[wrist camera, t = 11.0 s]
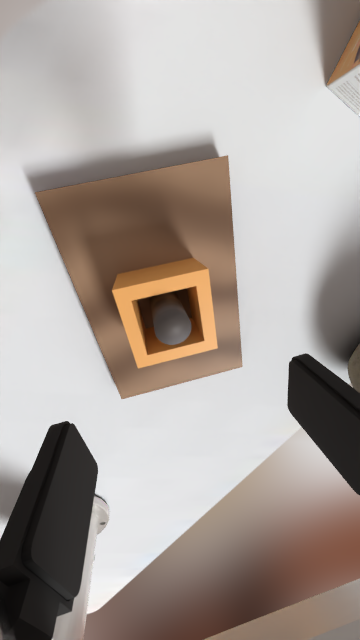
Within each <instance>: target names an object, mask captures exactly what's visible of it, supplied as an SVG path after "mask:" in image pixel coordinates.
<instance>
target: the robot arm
mask: <svg viewBox="0 0 360 640" xmlns="http://www.w3.org/2000/svg"><path fill="white" fill-rule="evenodd" d="M288 409H289V411H290V413H291V414H292V415H293V417H294V418H295V419H296V420H297V421H298V423H299V424H300V425H301V426H302V428H303V429H304V430H305V431H306V432H307V434H308V435H309V436H310V437H311V439H312V440H313V441H314V442H315V443H316V445H317V446H318V447H319V448H320V450H321V451H322V452H323V453H324V455H325V456H326V457H327V458H328V459H329V461H330V462H331V463H332V464H333V466H334V467H335V468H336V469H337V470H338V472H339V473H340V474H341V475H342V477H343V478H344V479H345V480H346V481H347V483H348V484H349V485H350V486H351V488H353V490H354V491H355V492H356V493H357V494H359V495H360V393H359V392H358V391H356V390H355V389H354V388H352V387H351V386H350V385H348V384H347V383H346V382H344V381H343V380H342V379H341V378H339V377H338V376H337V375H335V374H334V373H333V372H331V371H330V370H329V369H327V368H326V367H325V366H323V365H322V364H321V363H319V362H318V361H317V360H315V359H314V358H313V357H312V356H310V355H309V354H302V355H299V356H295V357H293V358H292V361H290V362H289V379H288ZM97 474H98V467H97V463H96V461H95V459H94V458H93V456H92V454H91V453H90V451H89V449H88V447H87V446H86V444H85V442H84V440H83V439H82V437H81V435H80V434H79V432H78V430H77V428H76V427H75V425H74V424H73V423H72V424H70V423H69V422H68V421H65V422H62V423H58V424H55V425H52V426H50V428H49V430H48V432H47V434H46V437H45V439H44V442H43V444H42V446H41V449H40V451H39V453H38V456H37V458H36V461H35V463H34V465H33V468H32V470H31V471H30V473H29V475H28V476H27V478H26V481H25V483H24V486H23V488H22V490H21V493H20V495H19V497H18V500H17V502H16V504H15V507H14V509H13V511H12V514H11V516H10V518H9V521H8V523H7V526H6V528H5V530H4V533H3V535H2V537H1V540H0V640H83V637H84V629H85V622H86V614H87V606H88V598H89V590H90V583H91V575H92V567H93V561H94V559H95V554H94V551H95V544H96V536H97V534H99V533H100V532H101V531H102V530H103V529H104V528H105V527H106V525H107V524H108V521H109V512H110V511H109V507H108V505H107V504H106V503H105V502H104V501H103V500H102V499H100V498H98V497H96V496H94V494H95V488H96V481H97ZM204 640H360V579H358V580H355V581H353V582H350V583H347V584H345V585H342V586H340V587H337V588H335V589H332V590H329V591H327V592H324V593H321V594H319V595H316V596H314V597H311V598H309V599H306V600H303V601H301V602H298V603H296V604H293V605H291V606H289V607H286V608H283V609H280V610H278V611H275V612H273V613H271V614H268V615H265V616H262V617H260V618H257V619H255V620H253V621H250V622H248V623H245V624H242V625H240V626H237V627H235V628H232V629H229V630H227V631H224V632H222V633H219V634H217V635H214V636H212V637H209V638H206V639H204Z"/></svg>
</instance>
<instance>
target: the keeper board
mask: <svg viewBox="0 0 360 640" xmlns="http://www.w3.org/2000/svg"><path fill="white" fill-rule="evenodd" d="M35 194H36V197H37V199H38V201H39V204H40V206H41V208H42V211H43V213H44V216H45V218H46V220H47V223H48V225H49V227H50V230H51V232H52V235H53V237H54V239H55V242H56V244H57V246H58V249H59V251H60V254H61V256H62V258H63V261H64V263H65V265H66V268H67V270H68V273H69V275H70V277H71V280H72V282H73V284H74V287H75V289H76V292H77V294H78V296H79V299H80V301H81V303H82V306H83V308H84V311H85V313H86V315H87V318H88V320H89V322H90V325H91V327H92V330H93V332H94V334H95V337H96V339H97V341H98V344H99V346H100V349H101V351H102V353H103V356H104V358H105V360H106V363H107V365H108V368H109V370H110V372H111V375H112V377H113V379H114V382H115V384H116V387H117V389H118V391H119V394H120V396H121V398H122V399H125V398H128V397H132V396H136V395H140V394H143V393H147V392H151V391H154V390H158V389H162V388H166V387H169V386H173V385H177V384H180V383H184V382H188V381H192V380H195V379H199V378H203V377H206V376H210V375H214V374H218V373H221V372H225V371H229V370H232V369H236V368H240V367H242V354H241V339H240V324H239V309H238V295H237V280H236V265H235V250H234V236H233V221H232V206H231V192H230V177H229V162H228V156H223V157H218V158H212V159H207V160H202V161H197V162H192V163H186V164H181V165H176V166H171V167H165V168H160V169H155V170H150V171H145V172H139V173H134V174H129V175H124V176H118V177H113V178H108V179H103V180H97V181H92V182H87V183H82V184H77V185H71V186H66V187H61V188H56V189H50V190H45V191H40V192H35ZM189 258H195V259H196V260H197V261H199V262H200V263H201V264H203V265H204V266H205V267H207V268H208V269H209V278H210V286H211V295H212V303H213V312H214V320H215V329H216V337H217V346H218V348H217V349H213V350H209V351H205V352H201V353H197V354H193V355H190V356H186V357H182V358H178V359H174V360H170V361H166V362H162V363H158V364H154V365H150V366H146V367H142V368H138V367H137V364H136V361H135V358H134V355H133V352H132V349H131V346H130V343H129V340H128V337H127V334H126V331H125V328H124V325H123V322H122V319H121V316H120V313H119V310H118V307H117V304H116V301H115V298H114V295H113V292H112V289H113V286H114V283H115V280H116V277H117V274H121V273H125V272H130V271H134V270H139V269H144V268H148V267H153V266H157V265H162V264H167V263H171V262H176V261H180V260H185V259H189ZM137 301H138V304H139V308H140V311H141V315H142V318H143V322H144V325H145V329H147V328H151V327H154V331H155V335H156V337H157V338H158V340H159V341H161V342H162V343H165V344H168V345H175V344H179V343H181V342H183V341H184V340H185V339H187V337H188V336H189V334H190V332H191V322H190V319H189V318H192V315H191V309H190V303H189V298H188V292H187V288H185V289H181V290H176V291H172V292H168V293H163V294H159V295H154V296H150V297H146V298H141V299H137Z"/></svg>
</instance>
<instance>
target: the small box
mask: <svg viewBox="0 0 360 640" xmlns="http://www.w3.org/2000/svg"><path fill="white" fill-rule="evenodd" d="M327 88H329V89H330V90H331V91H332V92H333V93H334V94H335V95H337V96H338V97H339V98H340V99H341V100H342V101H343V102H344V103H345V104H346V105H347V106H349V107H350V108H351V109H352V110H353V111H354V112H355V113H356V114H357V115H359V116H360V21H359V23H358V25H357V27H356V29H355V31H354V33H353V34H352V36H351V38H350V40H349V42H348V44H347V46H346V48H345V50H344V52H343V54H342V56H341V58H340V60H339V62H338V64H337V66H336V68H335V70H334V71H333V73H332V75H331V77H330V79H329V81H328V83H327Z"/></svg>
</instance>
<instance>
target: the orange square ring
mask: <svg viewBox="0 0 360 640" xmlns="http://www.w3.org/2000/svg"><path fill="white" fill-rule="evenodd" d="M185 288H187V292H188V298H189V303H190V309H191V315H192V318H189V319H190V322H191V332H190V334H189V336H188V337H187V339H185V340H184V341H183V342H181V343H179V344H175V345H168V344H165V343H162V342H161V341H159V340H158V338H157V337H156V335H155V331H154V327H151V328H147V329H145V325H144V322H143V318H142V315H141V311H140V308H139V304H138V301H137V299H141V298H146V297H150V296H154V295H159V294H163V293H168V292H172V291H176V290H181V289H185ZM112 292H113V295H114V298H115V301H116V304H117V307H118V310H119V313H120V316H121V319H122V322H123V325H124V328H125V331H126V334H127V337H128V340H129V343H130V346H131V349H132V352H133V355H134V358H135V361H136V364H137V367H138V368H142V367H146V366H150V365H154V364H158V363H162V362H166V361H170V360H174V359H178V358H182V357H186V356H190V355H193V354H197V353H201V352H205V351H209V350H213V349H217V348H218V346H217V337H216V329H215V320H214V312H213V303H212V295H211V286H210V278H209V269H208V268H207V267H205V266H204V265H203V264H201V263H200V262H199V261H197V260H196V259H195V258H189V259H185V260H180V261H176V262H171V263H167V264H162V265H157V266H153V267H148V268H144V269H139V270H134V271H130V272H125V273H121V274H117V277H116V280H115V283H114V286H113V289H112Z"/></svg>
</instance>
